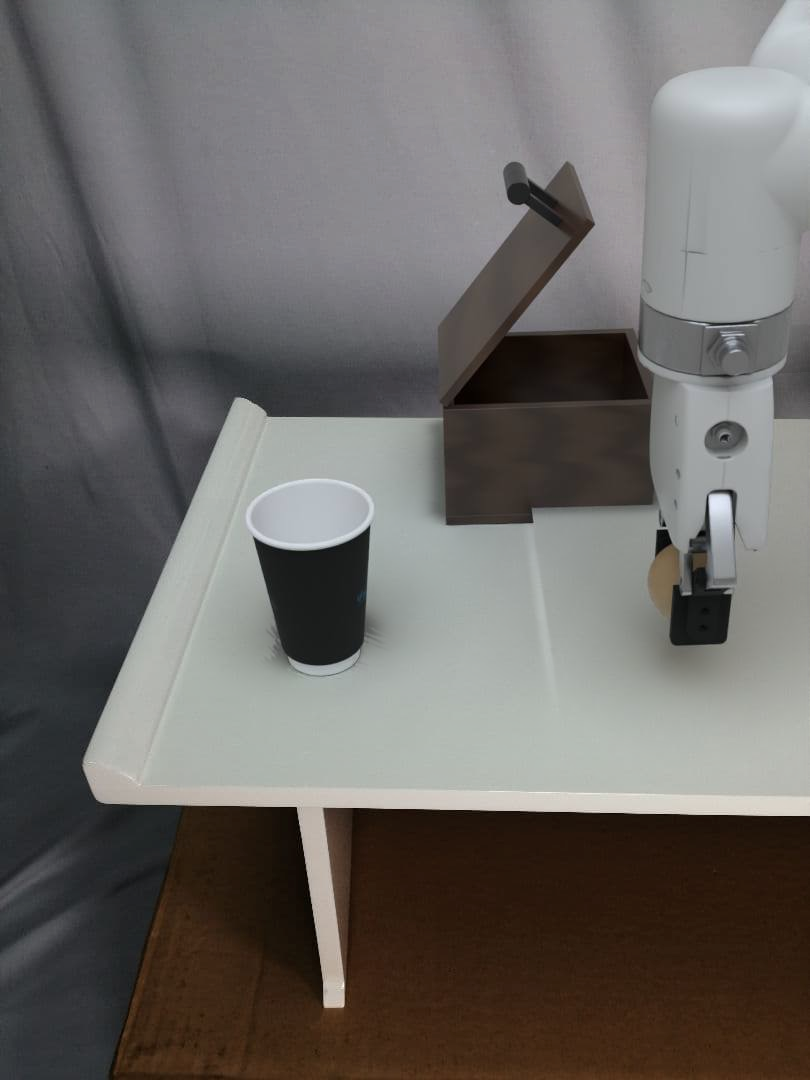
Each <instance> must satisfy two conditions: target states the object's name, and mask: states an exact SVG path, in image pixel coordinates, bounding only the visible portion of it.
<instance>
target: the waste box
mask: <svg viewBox="0 0 810 1080" xmlns="http://www.w3.org/2000/svg"><path fill="white" fill-rule="evenodd" d="M637 349H638V335H637V334H636V331H635V329H634V327H633V328H632V327H631V328H629V327H627V328H602V329H601V328H599V329H595V328H594V329H569V330H565V329H564V330H537V331H508V332H507V334H506V335H505V336H504V337H503V339H502V340H501V341H500V342H499V344H498V345H497V346H496V347H495V348H494V350H493V351H492V352H491V353H490V355H489V356H488V357H487V358H486V359H485V361H484V362H483V363H482V364H481V366H480V367H479V368H478V369H477V371H476V372H475V373H474V374H473V375H472V377H471V378H470V379H469V380H468V382H467V383H466V384H465V385H464V387H463V388H462V389H461V390H460V391H459V393H458V394H457V395H456V396H455V398H454V399H453V400H452V401H451V402H450V404H449V405H448V406H447V407H446V406H444V405H442V425H443V426H442V427H443V430H442V431H443V432H442V434H443V466H444V468H443V469H444V504H445V505H444V507H445V508H444V509H445V525H449V526H450V525H451V526H452V525H486V524H487V525H488V524H489V525H490V524H523V523H525V524H526V523H528V524H529V523H534V515H533V509H550V508H552V509H553V508H586V507H588V508H589V507H591V508H592V507H623V506H624V507H625V506H626V507H627V506H653V505H654V495H655V487H654V484H653V480H652V475H651V468H650V423H651V407H652V394H653V383H654V379H653V378H652V373H651V371H650V370H649V369H648V368H645V367H644V366H643V365H642V363H641V362H640V361H639V358H638V355H637Z"/></svg>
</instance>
